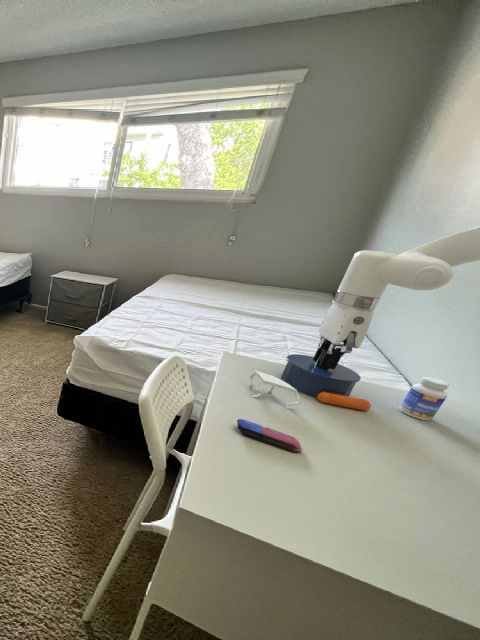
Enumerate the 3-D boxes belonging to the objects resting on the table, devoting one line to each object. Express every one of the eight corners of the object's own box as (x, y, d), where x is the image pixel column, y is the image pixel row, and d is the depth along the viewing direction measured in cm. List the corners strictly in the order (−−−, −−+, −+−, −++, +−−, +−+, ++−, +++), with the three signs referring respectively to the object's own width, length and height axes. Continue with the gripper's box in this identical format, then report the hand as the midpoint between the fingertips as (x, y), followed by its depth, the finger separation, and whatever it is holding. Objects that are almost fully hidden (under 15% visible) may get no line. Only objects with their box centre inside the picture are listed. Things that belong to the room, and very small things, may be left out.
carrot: (363, 408, 88) (313, 398, 91) (367, 398, 87) (316, 389, 90) (371, 413, 85) (319, 403, 88) (376, 403, 85) (323, 393, 88)
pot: (330, 382, 100) (339, 363, 98) (358, 406, 88) (369, 386, 86) (273, 370, 105) (281, 352, 103) (292, 392, 93) (301, 373, 91)
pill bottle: (411, 418, 85) (433, 384, 81) (391, 406, 90) (411, 373, 86) (438, 423, 84) (462, 388, 80) (417, 410, 89) (438, 377, 85)
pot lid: (340, 365, 99) (350, 345, 96) (372, 390, 86) (384, 368, 84) (277, 353, 103) (285, 334, 101) (298, 375, 91) (308, 354, 89)
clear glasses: (236, 390, 92) (242, 374, 90) (248, 383, 96) (255, 367, 95) (293, 415, 83) (301, 398, 81) (304, 405, 87) (312, 389, 85)
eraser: (298, 445, 73) (302, 438, 72) (302, 456, 69) (306, 449, 69) (233, 422, 78) (236, 416, 77) (234, 431, 75) (238, 425, 74)
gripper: (397, 313, 79) (358, 382, 86) (355, 295, 93) (325, 356, 100) (354, 306, 82) (320, 374, 88) (320, 290, 96) (293, 350, 102)
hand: (323, 364), depth 94 cm, fingers closed on pot lid, 2 cm apart
